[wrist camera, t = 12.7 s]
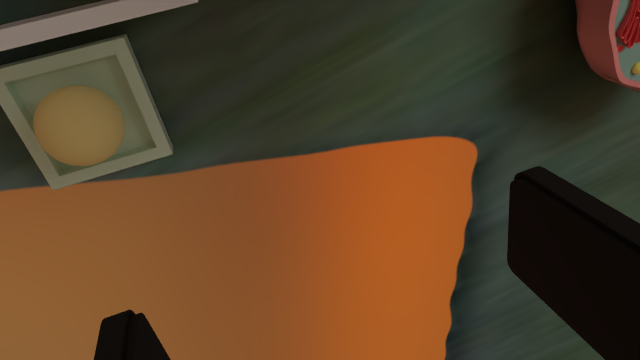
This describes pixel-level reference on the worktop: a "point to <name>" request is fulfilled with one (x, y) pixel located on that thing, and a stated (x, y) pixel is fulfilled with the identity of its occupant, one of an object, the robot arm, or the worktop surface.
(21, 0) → the worktop surface
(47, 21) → the wall
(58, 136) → the ball
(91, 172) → the tray
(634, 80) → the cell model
